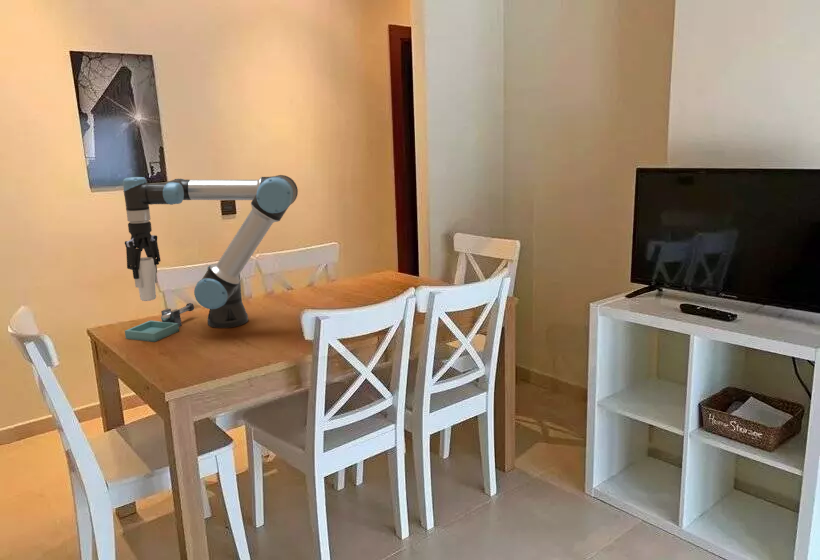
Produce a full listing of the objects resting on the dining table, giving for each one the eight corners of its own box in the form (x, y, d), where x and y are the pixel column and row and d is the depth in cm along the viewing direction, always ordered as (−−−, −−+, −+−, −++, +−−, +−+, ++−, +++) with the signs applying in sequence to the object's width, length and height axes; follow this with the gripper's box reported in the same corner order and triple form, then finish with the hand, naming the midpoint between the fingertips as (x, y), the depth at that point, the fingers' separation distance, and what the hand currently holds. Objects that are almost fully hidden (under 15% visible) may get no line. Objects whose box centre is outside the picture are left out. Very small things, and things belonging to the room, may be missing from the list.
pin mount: (181, 325, 246) (179, 309, 244) (175, 328, 242) (173, 312, 241) (168, 324, 248) (167, 308, 246) (162, 326, 244) (160, 310, 243)
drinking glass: (151, 302, 228) (146, 261, 225) (134, 301, 230) (129, 260, 226) (162, 297, 235) (157, 257, 231) (145, 296, 236) (140, 256, 233)
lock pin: (194, 310, 255) (193, 303, 254) (167, 322, 240) (166, 314, 239) (187, 310, 256) (187, 302, 255) (160, 321, 241) (159, 313, 240)
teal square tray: (179, 331, 239) (178, 323, 239) (154, 342, 227) (153, 334, 227) (151, 327, 244) (150, 320, 243) (125, 338, 232) (124, 330, 231)
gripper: (150, 217, 236) (157, 278, 241) (109, 225, 218) (118, 290, 223) (166, 218, 233) (173, 279, 239) (127, 226, 215) (135, 292, 221)
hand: (146, 284), depth 231 cm, fingers closed on drinking glass, 7 cm apart
